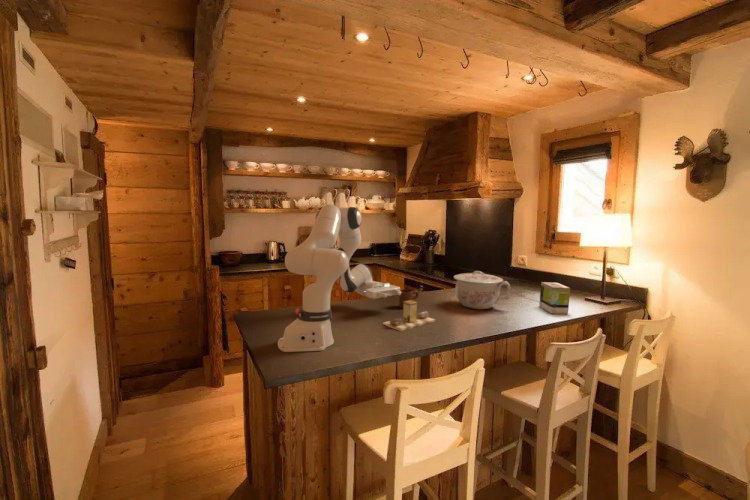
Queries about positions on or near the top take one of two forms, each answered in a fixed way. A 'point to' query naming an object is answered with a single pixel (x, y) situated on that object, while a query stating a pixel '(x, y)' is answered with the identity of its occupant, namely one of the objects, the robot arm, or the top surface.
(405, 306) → the pale yellow tall box
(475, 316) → the top surface
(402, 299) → the mug
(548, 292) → the tea box
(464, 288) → the chamber pot
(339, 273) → the robot arm
